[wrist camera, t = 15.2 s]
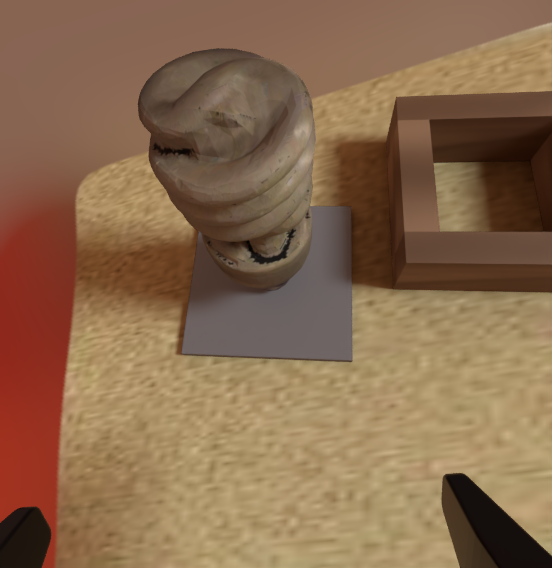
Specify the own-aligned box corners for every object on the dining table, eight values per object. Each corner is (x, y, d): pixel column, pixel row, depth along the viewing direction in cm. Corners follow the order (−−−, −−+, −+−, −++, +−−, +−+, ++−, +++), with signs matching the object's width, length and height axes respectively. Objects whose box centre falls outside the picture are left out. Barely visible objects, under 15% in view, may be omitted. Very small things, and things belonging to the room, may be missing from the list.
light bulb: (337, 279, 24) (361, 69, 10) (271, 340, 23) (196, 203, 9) (275, 222, 26) (223, -23, 12) (212, 277, 25) (74, 81, 11)
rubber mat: (351, 361, 23) (352, 360, 22) (184, 355, 24) (181, 353, 24) (350, 210, 26) (351, 206, 26) (203, 210, 27) (201, 206, 27)
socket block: (589, 292, 23) (642, 265, 19) (393, 289, 24) (406, 262, 20) (554, 137, 27) (592, 89, 23) (386, 141, 28) (396, 97, 24)
